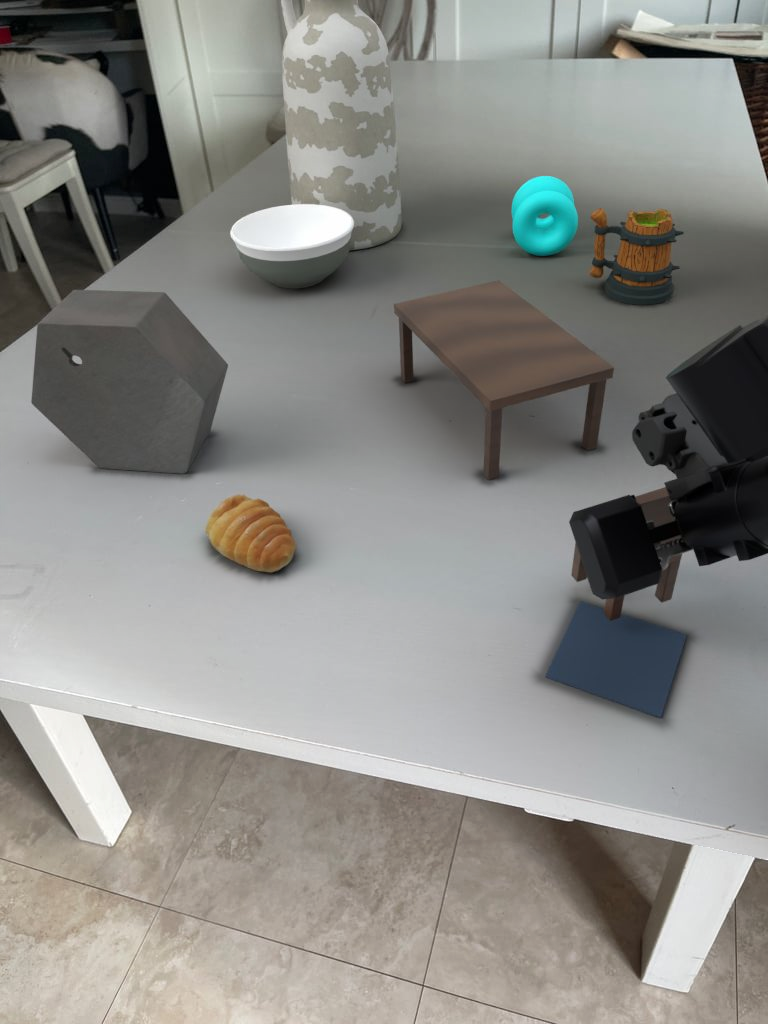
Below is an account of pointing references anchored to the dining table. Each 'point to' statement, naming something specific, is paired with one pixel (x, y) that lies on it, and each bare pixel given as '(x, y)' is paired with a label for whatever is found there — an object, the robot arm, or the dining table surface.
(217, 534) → the pastry
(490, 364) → the side table
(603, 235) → the mug
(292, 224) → the bowl
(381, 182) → the vase
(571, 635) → the mat
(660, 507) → the chair
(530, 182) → the donuts
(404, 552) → the dining table surface
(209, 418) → the grey hexagonal prism
